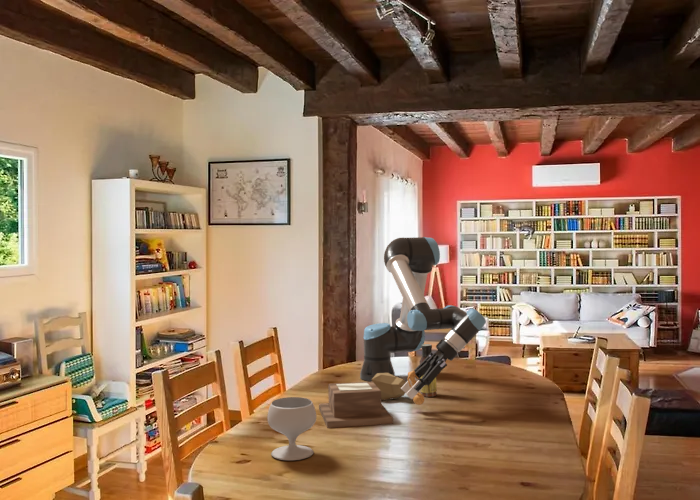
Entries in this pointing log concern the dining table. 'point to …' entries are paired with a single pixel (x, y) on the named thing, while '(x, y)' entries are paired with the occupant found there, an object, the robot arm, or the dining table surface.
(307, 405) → the chalice
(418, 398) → the figurine
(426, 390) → the sauce bottle
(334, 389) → the pedestal
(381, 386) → the low-poly potato
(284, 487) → the dining table surface
